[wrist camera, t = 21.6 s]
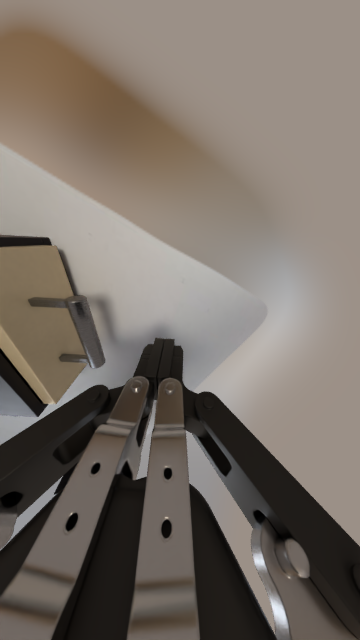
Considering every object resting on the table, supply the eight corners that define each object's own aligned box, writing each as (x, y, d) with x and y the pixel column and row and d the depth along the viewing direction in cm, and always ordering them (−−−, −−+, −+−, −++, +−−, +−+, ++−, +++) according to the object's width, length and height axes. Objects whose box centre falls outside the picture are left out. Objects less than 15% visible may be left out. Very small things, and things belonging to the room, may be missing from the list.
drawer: (102, 248, 13) (33, 256, 7) (124, 356, 19) (99, 406, 14) (-93, 237, 13) (-335, 235, 7) (-3, 349, 19) (-85, 397, 13)
